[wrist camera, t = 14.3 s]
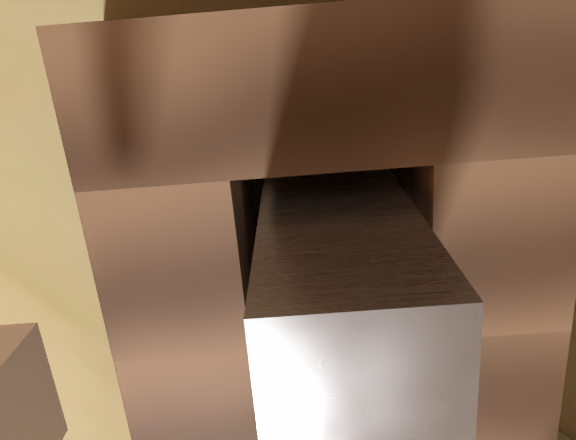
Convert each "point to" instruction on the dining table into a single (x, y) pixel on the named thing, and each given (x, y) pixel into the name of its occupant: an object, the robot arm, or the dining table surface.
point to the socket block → (319, 160)
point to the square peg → (358, 316)
